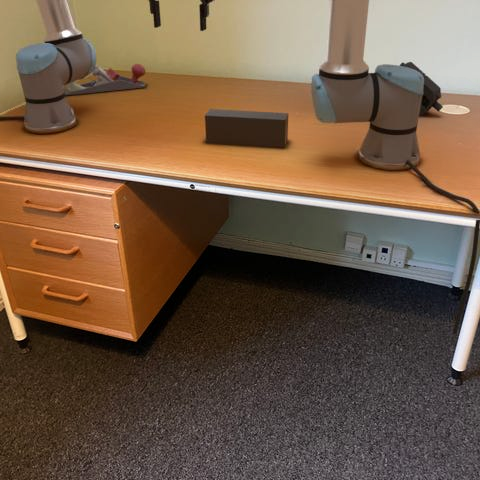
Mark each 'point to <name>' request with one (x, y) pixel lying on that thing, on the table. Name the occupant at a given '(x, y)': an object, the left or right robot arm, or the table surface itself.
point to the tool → (427, 91)
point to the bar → (246, 128)
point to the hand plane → (107, 81)
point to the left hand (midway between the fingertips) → (180, 28)
